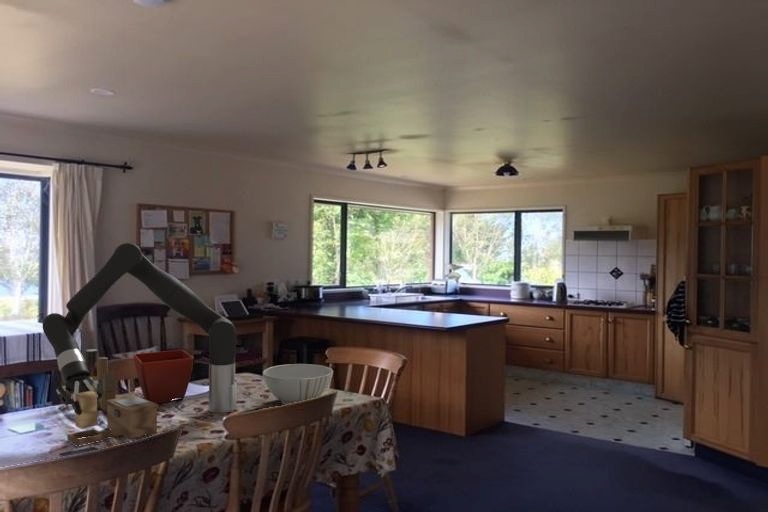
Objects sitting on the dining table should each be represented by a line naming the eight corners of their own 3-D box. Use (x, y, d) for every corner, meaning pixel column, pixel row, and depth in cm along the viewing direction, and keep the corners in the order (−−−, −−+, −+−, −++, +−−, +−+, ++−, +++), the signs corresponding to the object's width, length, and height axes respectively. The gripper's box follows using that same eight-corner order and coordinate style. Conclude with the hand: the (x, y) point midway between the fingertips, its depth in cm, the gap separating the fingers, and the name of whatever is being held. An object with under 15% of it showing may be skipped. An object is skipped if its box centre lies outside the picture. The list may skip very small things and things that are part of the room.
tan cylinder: (91, 422, 192) (90, 390, 192) (97, 425, 189) (96, 393, 189) (75, 425, 189) (75, 393, 189) (81, 428, 186) (81, 396, 185)
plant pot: (141, 407, 226) (141, 362, 225) (133, 396, 242) (133, 353, 242) (194, 401, 236) (194, 357, 235) (182, 390, 252) (183, 349, 251)
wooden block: (105, 412, 220) (105, 362, 219) (95, 405, 228) (95, 357, 227) (115, 410, 222) (115, 360, 222) (105, 403, 230) (105, 356, 230)
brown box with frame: (134, 421, 209) (134, 394, 209) (158, 432, 198) (158, 403, 197) (62, 437, 192) (61, 407, 191) (83, 450, 180) (83, 418, 180)
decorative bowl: (322, 414, 221) (322, 380, 220) (251, 409, 225) (251, 377, 225) (339, 395, 247) (340, 365, 247) (276, 391, 251) (276, 362, 251)
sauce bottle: (86, 399, 236) (86, 348, 236) (103, 399, 237) (103, 348, 236) (79, 404, 230) (79, 351, 229) (97, 403, 230) (97, 351, 230)
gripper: (51, 363, 188) (67, 410, 180) (99, 356, 199) (116, 400, 191) (45, 377, 192) (61, 424, 184) (92, 370, 202) (108, 413, 195)
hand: (88, 411), depth 188 cm, fingers closed on tan cylinder, 4 cm apart
